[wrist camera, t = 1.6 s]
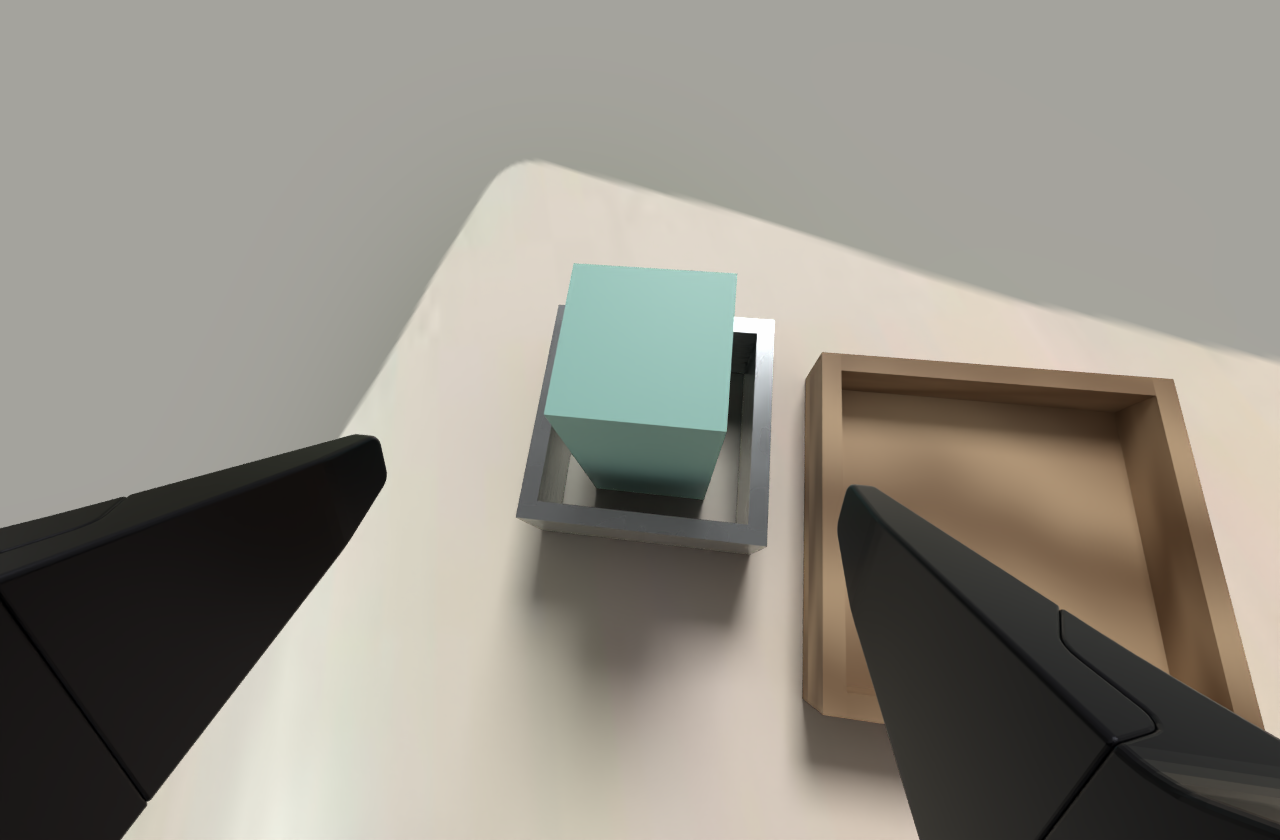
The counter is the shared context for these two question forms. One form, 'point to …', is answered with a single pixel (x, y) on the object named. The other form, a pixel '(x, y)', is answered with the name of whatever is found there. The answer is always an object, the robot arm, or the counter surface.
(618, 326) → the block
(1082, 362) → the counter surface
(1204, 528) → the tray
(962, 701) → the robot arm
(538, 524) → the holder
